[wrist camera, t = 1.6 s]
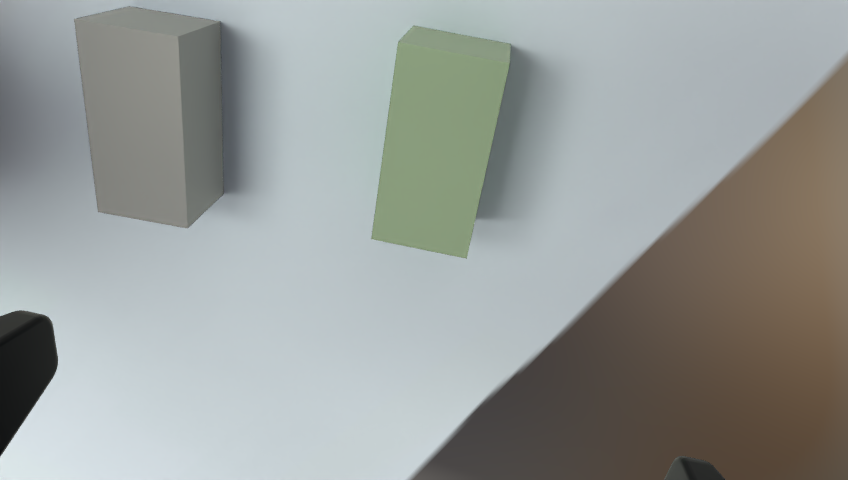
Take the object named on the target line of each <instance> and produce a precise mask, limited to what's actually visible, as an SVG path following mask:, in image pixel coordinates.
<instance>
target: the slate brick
mask: <svg viewBox="0 0 848 480" xmlns="http://www.w3.org/2000/svg"><path fill="white" fill-rule="evenodd" d="M74 22H75V30H76V38H77V46H78V54H79V62H80V70H81V78H82V86H83V94H84V102H85V110H86V118H87V127H88V135H89V143H90V151H91V159H92V167H93V175H94V183H95V191H96V199H97V207H98V212H101V213H107V214H112V215H117V216H123V217H128V218H134V219H139V220H145V221H150V222H156V223H161V224H167V225H172V226H177V227H183V228H189V227H190V226H191V225H192V224H193V223H194V222H195V221H196V220H197V219H198V218H199V217H200V216H201V215H202V214H203V213H204V212H205V211H206V210H207V209H208V208H210V207H211V206H212V205H213V204H214V203H215V202H216V201H217V200H218V199H219V198H220V197H221V196H222V195H223V194H224V187H223V134H222V82H221V30H220V21H215V20H209V19H203V18H197V17H191V16H185V15H179V14H173V13H167V12H161V11H155V10H148V9H142V8H136V7H130V6H128V7H124V8H120V9H115V10H111V11H107V12H102V13H98V14H94V15H89V16H85V17H81V18H77V19H74Z"/></svg>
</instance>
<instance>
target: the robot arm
mask: <svg viewBox="0 0 848 480" xmlns="http://www.w3.org/2000/svg"><path fill="white" fill-rule="evenodd" d="M57 365H58V356H57V349H56V343H55V336H54V330H53V324H52V321H51V320H50V319H49V317H47V316H45V315H42V314H37V313H33V312H28V311H21V310H20V311H15V312H11V313H8V314H5V315H3V316H0V456H1V455H2V453H3V452H4V450H5V449H6V447H7V446H8V444H9V443H10V441H11V440H12V438H13V437H14V435H15V434H16V432H17V431H18V429H19V428H20V426H21V425H22V423H23V422H24V420H25V419H26V417H27V416H28V414H29V413H30V411H31V410H32V408H33V407H34V405H35V404H36V402H37V401H38V399H39V398H40V396H41V395H42V393H43V392H44V390H45V389H46V387H47V386H48V384H49V383H50V381H51V380H52V378H53V376H54V375H55V372H56V369H57ZM664 480H725V479H724V478H723V477H722V475H721V474H720V473H719V472H718V471H717V470H716V469H715V468H714V466H713V465H711V464H710V463H709V462H706V461H704V460H699V459H695V458H690V457H685V456H679V457H677V458H676V459H675V460H674V462H673V463H672V465H671V467H670V469H669V471H668V473H667V475H666V477H665V479H664Z"/></svg>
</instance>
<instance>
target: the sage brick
mask: <svg viewBox="0 0 848 480" xmlns="http://www.w3.org/2000/svg"><path fill="white" fill-rule="evenodd" d="M510 49H511V44H508V43H502V42H497V41H492V40H487V39H481V38H476V37H471V36H465V35H460V34H455V33H450V32H444V31H439V30H434V29H429V28H423V27H418V26H413V27H412V28H411V29H410V30H409V31H408V32H407V33H406V34H405V35H404V36H403V37H402V38H401V39H400V41H399V42H398V47H397V54H396V61H395V69H394V76H393V83H392V91H391V98H390V106H389V113H388V120H387V128H386V135H385V142H384V150H383V157H382V165H381V172H380V179H379V187H378V194H377V201H376V209H375V216H374V223H373V231H372V238H371V239H374V240H379V241H383V242H388V243H393V244H398V245H403V246H408V247H413V248H418V249H422V250H427V251H432V252H437V253H442V254H447V255H452V256H457V257H461V258H466V259H467V254H468V250H469V245H470V241H471V236H472V232H473V227H474V223H475V218H476V214H477V209H478V205H479V200H480V196H481V191H482V187H483V182H484V178H485V173H486V169H487V164H488V159H489V155H490V150H491V146H492V141H493V137H494V132H495V128H496V123H497V119H498V114H499V110H500V105H501V101H502V96H503V92H504V87H505V83H506V78H507V74H508V69H509V65H510Z"/></svg>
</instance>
